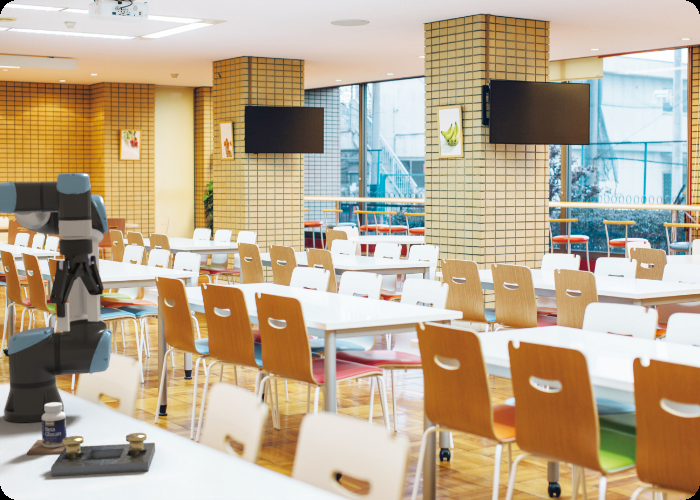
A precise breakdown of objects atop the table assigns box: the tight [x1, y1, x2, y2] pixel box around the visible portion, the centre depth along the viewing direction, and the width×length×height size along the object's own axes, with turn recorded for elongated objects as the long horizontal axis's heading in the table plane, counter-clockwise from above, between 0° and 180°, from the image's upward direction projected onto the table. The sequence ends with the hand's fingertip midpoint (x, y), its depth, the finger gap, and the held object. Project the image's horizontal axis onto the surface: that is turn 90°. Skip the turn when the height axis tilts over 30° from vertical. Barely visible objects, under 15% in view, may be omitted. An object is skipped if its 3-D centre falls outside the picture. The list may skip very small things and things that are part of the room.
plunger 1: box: [62, 435, 85, 458], centre depth 184 cm, size 4×4×4 cm
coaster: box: [26, 439, 66, 456], centre depth 197 cm, size 10×10×1 cm
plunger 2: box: [125, 432, 147, 455], centre depth 186 cm, size 4×4×4 cm
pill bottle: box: [41, 402, 67, 448], centre depth 197 cm, size 5×5×10 cm
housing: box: [50, 442, 156, 477], centre depth 185 cm, size 14×20×2 cm
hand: (79, 326), depth 201 cm, fingers open, 13 cm apart
